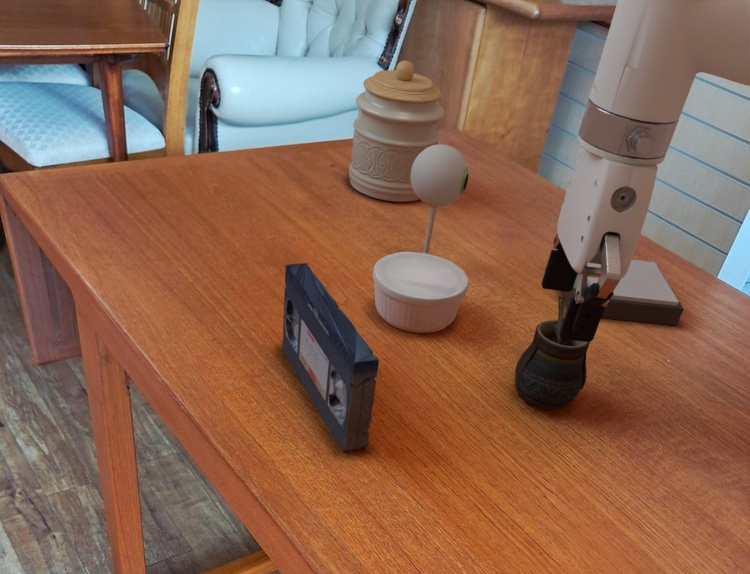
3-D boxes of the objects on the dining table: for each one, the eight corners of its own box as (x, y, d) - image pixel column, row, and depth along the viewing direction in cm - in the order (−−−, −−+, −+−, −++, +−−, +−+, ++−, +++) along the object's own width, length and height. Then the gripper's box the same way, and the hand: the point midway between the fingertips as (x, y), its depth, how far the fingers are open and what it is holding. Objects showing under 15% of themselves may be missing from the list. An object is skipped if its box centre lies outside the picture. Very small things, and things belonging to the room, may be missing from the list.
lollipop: (442, 280, 102) (466, 162, 92) (390, 266, 103) (408, 147, 93) (456, 258, 107) (479, 144, 97) (406, 245, 108) (424, 131, 98)
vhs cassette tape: (280, 349, 85) (284, 262, 79) (306, 346, 86) (313, 261, 80) (338, 455, 73) (349, 364, 67) (367, 450, 74) (381, 360, 68)
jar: (330, 178, 122) (341, 51, 110) (390, 165, 130) (406, 45, 118) (387, 210, 116) (405, 79, 104) (447, 194, 123) (470, 70, 111)
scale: (651, 281, 109) (659, 260, 107) (676, 325, 100) (686, 304, 98) (553, 270, 108) (559, 249, 106) (570, 314, 99) (577, 292, 97)
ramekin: (391, 344, 89) (398, 302, 85) (353, 295, 96) (357, 255, 92) (477, 333, 93) (487, 292, 89) (434, 287, 100) (441, 247, 96)
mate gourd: (521, 419, 81) (548, 334, 74) (498, 377, 86) (521, 294, 80) (585, 418, 83) (617, 334, 76) (559, 376, 88) (586, 295, 81)
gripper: (701, 175, 60) (623, 365, 72) (641, 106, 73) (583, 276, 84) (606, 162, 59) (543, 356, 71) (563, 94, 72) (515, 268, 84)
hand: (565, 312), depth 78 cm, fingers open, 9 cm apart
